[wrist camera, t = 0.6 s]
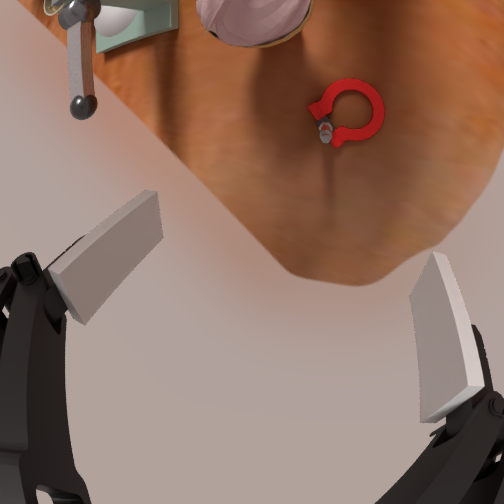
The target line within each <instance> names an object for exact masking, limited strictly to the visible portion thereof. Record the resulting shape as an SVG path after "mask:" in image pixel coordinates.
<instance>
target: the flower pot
mask: <svg viewBox="0 0 504 504" xmlns="http://www.w3.org/2000/svg"><path fill="white" fill-rule="evenodd" d="M51 3H52V0H44V11H45V13H46V15H48V16H51V15H54V14H56V13H59V12H60V10H61V9H62V8H63V7H64V6H65V5H66V4H61V5H60V6H51Z"/></svg>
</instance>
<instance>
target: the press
mask: <svg viewBox="0 0 504 504" xmlns="http://www.w3.org/2000/svg"><path fill="white" fill-rule="evenodd" d="M71 1H72V0H52V3H51V6H60V5H61V4H68V3H69V2H71ZM100 2H101V12H100V14H99V16H98V17H97V18H95V19H94V25H95V28H96V53H105V52H108V51H110V50H113V49H115V48H118V47H120V46H123V45H126V44H128V43H131V42H134V41H137V40H140V39H143V38H146V37H149V36H153V35H156V34H159V33H163V32H167V31H170V30H174V29H178V28H179V24H178V0H100Z"/></svg>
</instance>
